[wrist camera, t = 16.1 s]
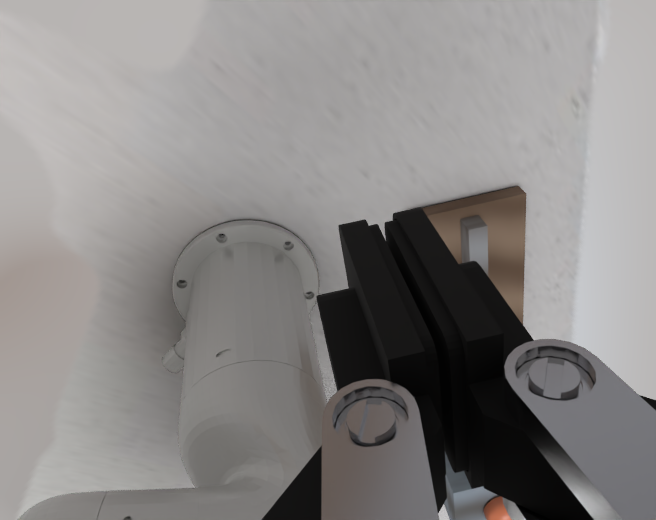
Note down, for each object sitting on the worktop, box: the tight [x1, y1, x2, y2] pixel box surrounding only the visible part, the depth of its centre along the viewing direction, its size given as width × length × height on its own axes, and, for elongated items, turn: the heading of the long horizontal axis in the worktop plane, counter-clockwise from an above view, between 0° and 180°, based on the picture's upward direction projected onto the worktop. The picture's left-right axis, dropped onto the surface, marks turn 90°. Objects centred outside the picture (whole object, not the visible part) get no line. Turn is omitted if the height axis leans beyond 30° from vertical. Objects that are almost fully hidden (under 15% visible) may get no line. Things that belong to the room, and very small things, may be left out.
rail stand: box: [422, 186, 526, 520], centre depth 55 cm, size 37×10×8 cm, turn 10°
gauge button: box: [484, 496, 512, 520], centre depth 58 cm, size 4×4×2 cm
